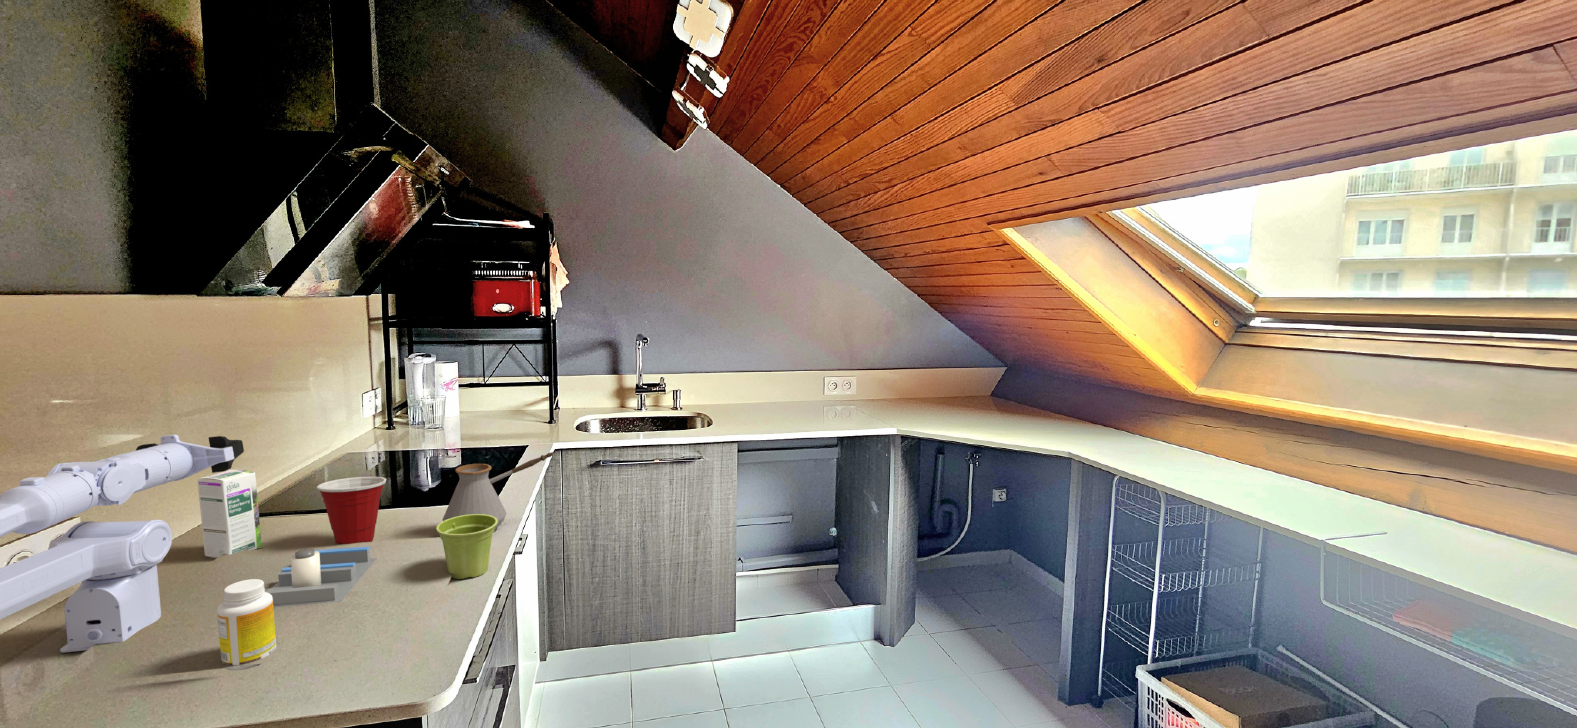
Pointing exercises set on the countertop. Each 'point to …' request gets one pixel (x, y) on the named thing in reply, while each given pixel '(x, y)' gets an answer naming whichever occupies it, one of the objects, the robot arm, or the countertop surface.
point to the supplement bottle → (246, 624)
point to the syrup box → (229, 512)
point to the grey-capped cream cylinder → (306, 568)
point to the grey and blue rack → (325, 578)
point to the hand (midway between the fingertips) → (215, 449)
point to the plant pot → (467, 543)
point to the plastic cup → (352, 507)
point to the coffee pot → (481, 491)
